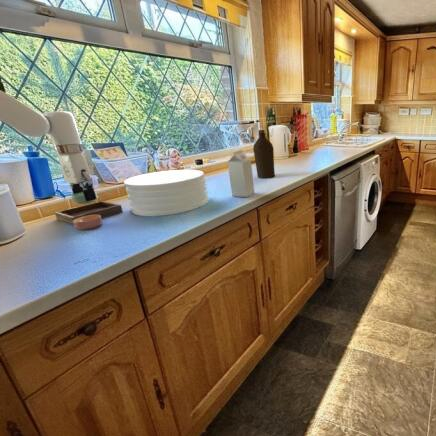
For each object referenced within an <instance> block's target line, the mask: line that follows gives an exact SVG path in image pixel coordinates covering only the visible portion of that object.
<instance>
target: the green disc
mask: <svg viewBox="0 0 436 436" xmlns="http://www.w3.org/2000/svg"><path fill="white" fill-rule="evenodd" d="M94 192H95V195H96V199H95V200H91V201H86V200H85V197H84V194H83V192H79V193H75V194H73V193H72V194H71V195H70V196H71V200H72V202H73V203H76V204H79V205H80V204H81V205H83V204H84V205H85V204H91V203H94V202H97V199H99V195H98V192H97V191H96V190H94Z"/></svg>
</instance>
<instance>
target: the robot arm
mask: <svg viewBox="0 0 436 436" xmlns="http://www.w3.org/2000/svg"><path fill="white" fill-rule="evenodd" d="M0 121H1V122H3V123H5V124H6V125H8V126H10V127H12V128H13V129H14V130H15V131H17V132H18V133H19V134H21V135H23V136H27V137H33V138H39V137H43V136H46V135H48V134H49V136H50V139H51V142H52V145H53V148H54V151H55V153H56V156H58V162H59V166H60V169H61V173H62V176H63V180H64V181H65V182H66V183H68V184H69V186H70V188H71V191H72V195H73V194H75V193H79V192H83V194H84V197H85V200H86V201H91V200H95V199H96V195H95V192H94V191H95V187H94V183H93V178H92V174H91V170H90V168H89V165H88V162H87V159H86V157H85V155H84V154H85V149H84V146H83V143H82V140H81V136H80V133H79V130H78V126H77V122H76V120H75V117H74V115H73V113H71V112H70V111H67V110H66V111H65V110H63V111H60V110H59V111H58V110H57V111H56V110H55V111H47V112H39V111H37V110H36V109H34V108H32V107H30V106H29V105H27V104H25V103H24V102H22V101H21V100H19V99H17V98H15V97H13V96H12V95H10V94H9V93H6V92H4V91H3V90H1V89H0ZM96 200H97V199H96Z"/></svg>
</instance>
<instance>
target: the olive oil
mask: <svg viewBox="0 0 436 436" xmlns="http://www.w3.org/2000/svg"><path fill="white" fill-rule="evenodd" d="M257 132H258V138H257V140H256V141H255V142H254V143H253V149H252V150H253V155H254V162H255V169H256V174H257V175H256V176H257V178H258V179H271V178H274V177H276V176H275V175H276V174H275V159H274V158H275V156H274V154H275V153H274V146H273V143H272V142H271V141H270V140H269V139H268V138H267V137H266V132H265V129H258V131H257Z"/></svg>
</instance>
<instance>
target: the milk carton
mask: <svg viewBox="0 0 436 436" xmlns="http://www.w3.org/2000/svg"><path fill="white" fill-rule="evenodd" d="M232 153H233V155H232V156H231V157H230V158H229V159H228V161H227V169H228V175H229V183H230V189H231V196H232V197H237V198H248V197H251V196H253V194H255V184H254V176H253V167H252V159H251V158H250V157H249V156H247V155H246V154H245V153H244V152H243V149H240V150H237V151H233V152H232Z"/></svg>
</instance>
